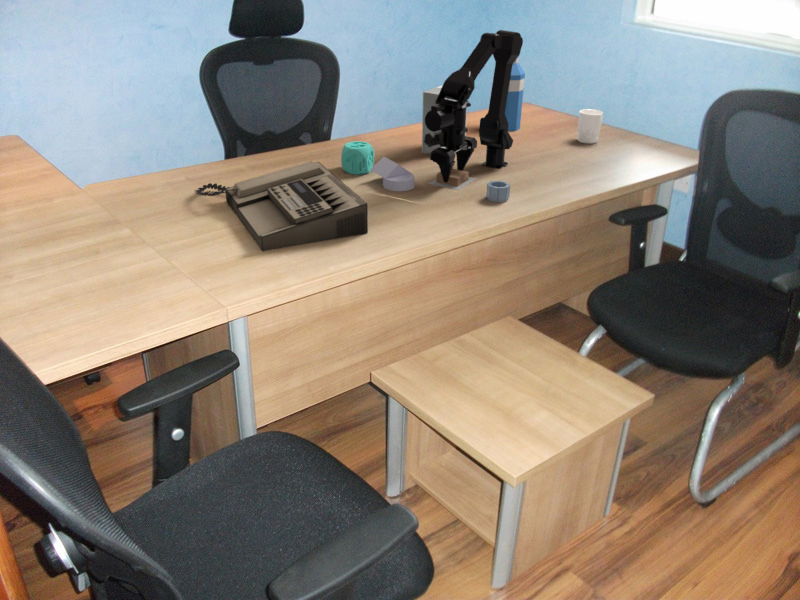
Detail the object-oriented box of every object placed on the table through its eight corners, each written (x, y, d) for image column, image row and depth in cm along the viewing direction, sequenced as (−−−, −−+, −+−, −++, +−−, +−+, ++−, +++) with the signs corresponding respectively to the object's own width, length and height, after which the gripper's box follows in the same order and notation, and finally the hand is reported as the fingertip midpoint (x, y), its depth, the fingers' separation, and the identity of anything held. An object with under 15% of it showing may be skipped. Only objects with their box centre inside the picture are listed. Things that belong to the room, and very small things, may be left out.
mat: (446, 173, 225) (446, 172, 224) (476, 179, 220) (476, 178, 220) (427, 184, 216) (427, 183, 215) (458, 191, 211) (458, 190, 211)
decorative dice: (341, 173, 224) (340, 147, 220) (349, 165, 230) (348, 140, 227) (367, 176, 222) (366, 149, 218) (374, 167, 229) (374, 142, 225)
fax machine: (190, 195, 207) (186, 162, 203) (308, 179, 220) (307, 147, 216) (229, 258, 171) (225, 220, 167) (367, 235, 184) (367, 198, 180)
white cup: (601, 144, 254) (605, 115, 249) (578, 144, 254) (581, 114, 249) (596, 137, 260) (600, 109, 256) (573, 137, 260) (577, 108, 256)
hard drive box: (446, 142, 253) (449, 82, 244) (465, 146, 250) (469, 85, 240) (420, 153, 242) (422, 91, 233) (440, 157, 238) (442, 94, 229)
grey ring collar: (492, 194, 209) (493, 179, 207) (511, 198, 207) (513, 183, 205) (483, 201, 205) (484, 185, 203) (503, 205, 202) (504, 189, 200)
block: (447, 175, 222) (447, 167, 221) (468, 179, 219) (469, 171, 218) (436, 182, 217) (436, 174, 215) (457, 186, 213) (458, 178, 212)
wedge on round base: (370, 181, 218) (392, 194, 208) (370, 158, 215) (393, 171, 205) (396, 176, 222) (420, 189, 212) (397, 154, 219) (420, 166, 209)
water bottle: (493, 130, 267) (498, 58, 255) (494, 123, 275) (499, 53, 263) (519, 132, 266) (526, 59, 254) (520, 125, 274) (526, 54, 262)
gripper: (445, 113, 220) (443, 164, 228) (414, 127, 206) (412, 181, 214) (479, 118, 216) (476, 170, 223) (449, 133, 201) (447, 188, 209)
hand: (452, 177), depth 217 cm, fingers open, 9 cm apart
